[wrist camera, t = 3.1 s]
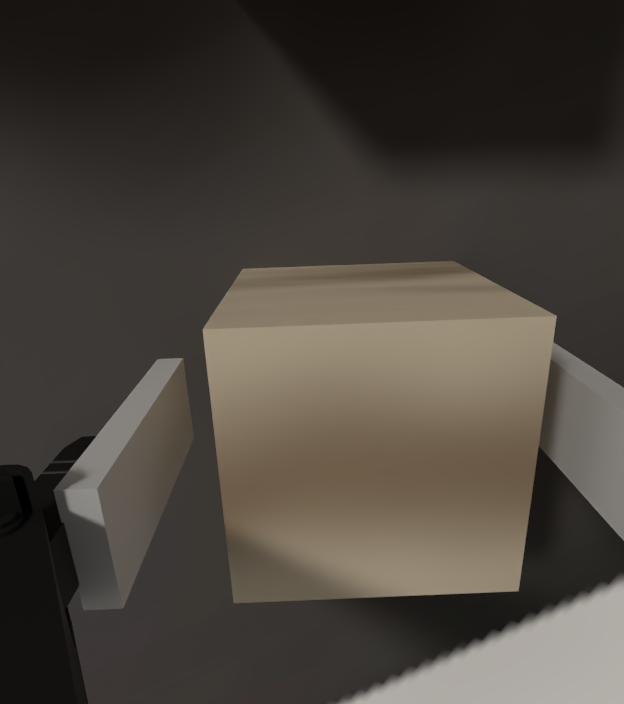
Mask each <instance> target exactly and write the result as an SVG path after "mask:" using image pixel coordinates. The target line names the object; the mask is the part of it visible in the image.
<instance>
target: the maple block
mask: <svg viewBox="0 0 624 704" xmlns="http://www.w3.org/2000/svg"><path fill="white" fill-rule="evenodd" d="M556 317H557V316H556V315H554V314H552V313H550V312H548V311H546V310H544V309H543V308H541V307H539V306H537V305H535V304H533V303H531V302H529V301H528V300H526V299H524V298H522V297H520V296H518V295H516V294H514V293H513V292H511V291H509V290H507V289H505V288H503V287H501V286H500V285H498V284H496V283H494V282H492V281H490V280H488V279H486V278H485V277H483V276H481V275H479V274H477V273H475V272H473V271H471V270H470V269H468V268H466V267H464V266H462V265H460V264H458V263H456V262H455V261H442V262H415V263H388V264H362V265H335V266H308V267H282V268H255V269H242V271H241V272H240V274H239V275H238V277H237V278H236V280H235V281H234V283H233V284H232V286H231V287H230V289H229V290H228V292H227V293H226V295H225V297H224V298H223V300H222V301H221V303H220V304H219V306H218V307H217V309H216V310H215V312H214V313H213V315H212V316H211V318H210V319H209V321H208V322H207V324H206V325H205V327H204V328H203V337H204V346H205V355H206V364H207V372H208V381H209V390H210V399H211V408H212V416H213V425H214V434H215V443H216V452H217V460H218V469H219V478H220V487H221V496H222V504H223V513H224V522H225V531H226V540H227V548H228V557H229V566H230V575H231V584H232V592H233V601H234V603H251V602H274V601H298V600H322V599H346V598H369V597H393V596H417V595H440V594H464V593H488V592H512V591H519V584H520V577H521V570H522V562H523V555H524V548H525V541H526V534H527V526H528V519H529V512H530V505H531V497H532V490H533V483H534V476H535V469H536V461H537V454H538V447H539V440H540V433H541V425H542V418H543V411H544V404H545V396H546V389H547V382H548V375H549V368H550V360H551V353H552V346H553V339H554V331H555V324H556Z"/></svg>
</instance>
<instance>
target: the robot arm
mask: <svg viewBox="0 0 624 704" xmlns="http://www.w3.org/2000/svg"><path fill="white" fill-rule="evenodd" d="M193 439H194V437H193V429H192V422H191V414H190V406H189V399H188V391H187V384H186V376H185V369H184V361H183V358H174V359H158V360H157V361H156V362H155V363H154V365H153V366H152V367H151V368H150V370H149V371H148V372H147V373H146V375H145V376H144V377H143V378H142V380H141V381H140V382H139V384H138V385H137V386H136V387H135V389H134V390H133V391H132V392H131V394H130V395H129V396H128V397H127V399H126V400H125V401H124V402H123V404H122V405H121V406H120V407H119V409H118V410H117V411H116V412H115V414H114V415H113V416H112V417H111V419H110V420H109V421H108V422H107V424H106V425H105V426H104V427H103V429H102V430H101V431H100V432H99V434H98V435H97V436H89V437H81V438H79V439H78V440H76V441H75V442H73V443H71V444H70V445H68V446H67V447H65V448H64V449H63V450H62V451H61V452H60V453H59V454H58V455H57V457H56V458H55V459H54V460H53V463H50V464H49V466H48V467H47V468H46V469H45V470H44V471H43V474H41V475H40V476H39V477H38V478H37V479H36V480H35V481H34V479H33V475H32V472H31V471H30V470H29V469H28V467H25V466H21V465H1V466H0V704H88V700H87V695H86V691H85V686H84V681H83V676H82V671H81V666H80V661H79V656H78V651H77V647H76V642H75V637H74V632H73V627H72V622H71V618H70V614H69V611H68V607H67V606H68V604H69V602H70V601H71V599H72V597H73V595H74V593H75V591H76V590H77V588H78V590H79V594H80V598H81V602H82V606H83V610H102V609H123V607H124V605H125V602H126V600H127V598H128V595H129V593H130V590H131V588H132V586H133V583H134V581H135V578H136V576H137V574H138V571H139V569H140V566H141V564H142V562H143V559H144V557H145V554H146V552H147V549H148V547H149V545H150V542H151V540H152V537H153V535H154V533H155V530H156V528H157V525H158V523H159V521H160V518H161V516H162V513H163V511H164V508H165V506H166V504H167V501H168V499H169V496H170V494H171V492H172V489H173V487H174V484H175V482H176V480H177V477H178V475H179V472H180V470H181V467H182V465H183V463H184V460H185V458H186V455H187V453H188V451H189V448H190V446H191V443H192V441H193ZM539 447H540V448H541V449H542V450H543V451H544V452H545V453H546V454H547V456H548V457H549V458H550V459H551V460H552V461H553V462H554V463H555V464H556V466H557V467H558V468H559V469H560V470H561V471H562V472H563V473H564V475H565V476H566V477H567V478H568V479H569V480H570V481H571V482H572V483H573V485H574V486H575V487H576V488H577V489H578V490H579V491H580V492H581V494H582V495H583V496H584V497H585V498H586V499H587V500H588V501H589V503H590V504H591V505H592V506H593V507H594V508H595V509H596V510H597V511H598V513H599V514H600V515H601V516H602V517H603V518H604V519H605V520H606V522H607V523H608V524H609V525H610V526H611V527H612V528H613V529H614V531H615V532H616V533H617V534H618V535H619V536H620V537H621V538H622V539H623V541H624V388H623V387H622V386H620V385H619V384H617V383H615V382H614V381H612V380H611V379H609V378H608V377H606V376H605V375H603V374H602V373H600V372H598V371H597V370H595V369H594V368H592V367H591V366H589V365H588V364H586V363H584V362H583V361H581V360H580V359H578V358H577V357H575V356H574V355H572V354H571V353H569V352H567V351H566V350H564V349H563V348H561V347H560V346H558V345H557V344H555V343H553V346H552V353H551V360H550V368H549V375H548V382H547V389H546V396H545V404H544V411H543V418H542V425H541V433H540V440H539Z"/></svg>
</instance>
